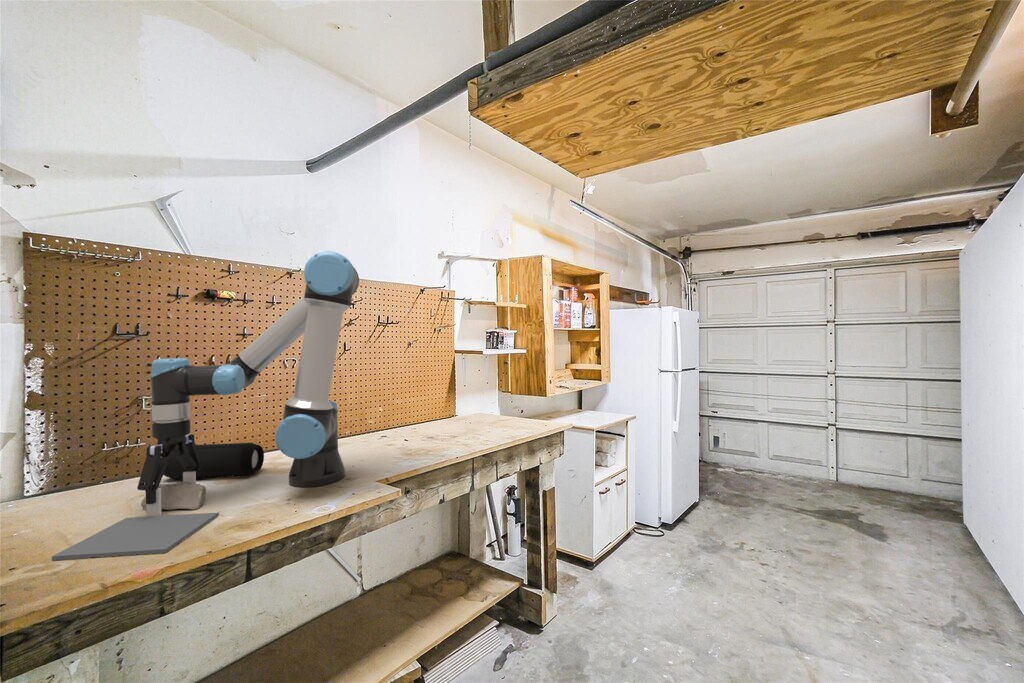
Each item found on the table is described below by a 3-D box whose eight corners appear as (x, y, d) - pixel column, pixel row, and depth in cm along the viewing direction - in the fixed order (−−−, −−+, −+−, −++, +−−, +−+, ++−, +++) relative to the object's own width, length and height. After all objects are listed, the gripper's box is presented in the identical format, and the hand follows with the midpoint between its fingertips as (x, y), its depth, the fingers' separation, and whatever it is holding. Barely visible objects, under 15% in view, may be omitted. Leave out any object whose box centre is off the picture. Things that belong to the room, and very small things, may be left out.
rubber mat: (218, 515, 102) (218, 512, 102) (165, 553, 84) (165, 549, 84) (126, 521, 100) (126, 517, 100) (51, 560, 82) (51, 556, 82)
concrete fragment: (191, 513, 104) (190, 488, 104) (137, 512, 105) (136, 487, 105) (213, 502, 111) (213, 478, 111) (162, 501, 112) (162, 478, 112)
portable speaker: (265, 470, 139) (265, 439, 139) (250, 480, 129) (249, 446, 129) (180, 474, 136) (180, 442, 136) (158, 484, 126) (157, 450, 126)
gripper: (187, 412, 120) (188, 489, 120) (115, 430, 95) (117, 527, 95) (215, 411, 121) (217, 488, 121) (151, 429, 96) (153, 525, 96)
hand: (173, 506), depth 108 cm, fingers open, 12 cm apart
